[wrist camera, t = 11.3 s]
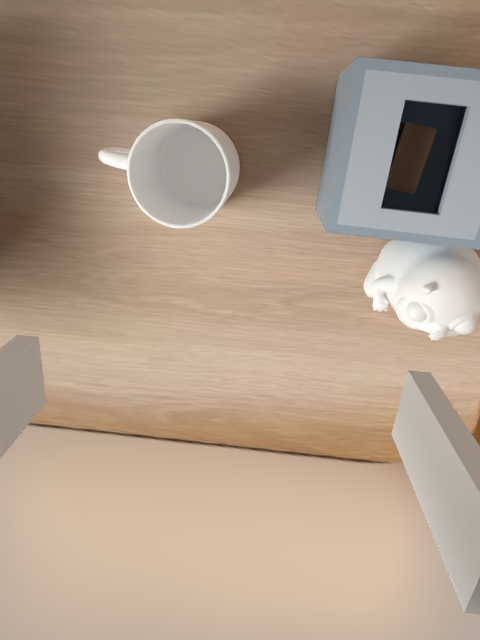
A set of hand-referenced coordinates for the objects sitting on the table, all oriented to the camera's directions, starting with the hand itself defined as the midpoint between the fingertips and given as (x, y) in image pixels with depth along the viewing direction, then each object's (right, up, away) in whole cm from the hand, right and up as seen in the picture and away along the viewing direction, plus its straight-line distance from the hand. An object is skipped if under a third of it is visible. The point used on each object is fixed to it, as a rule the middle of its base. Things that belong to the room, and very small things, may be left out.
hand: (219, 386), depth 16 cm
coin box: (+15, +18, +26) cm, 35 cm away
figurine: (+19, +8, +31) cm, 37 cm away
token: (+15, +18, +26) cm, 35 cm away
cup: (-5, +18, +28) cm, 34 cm away
